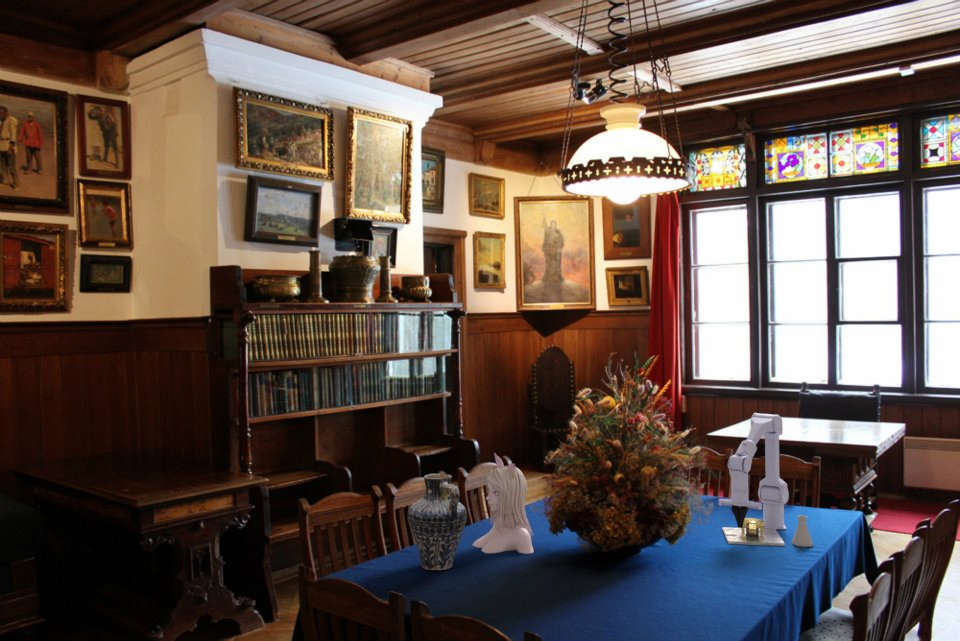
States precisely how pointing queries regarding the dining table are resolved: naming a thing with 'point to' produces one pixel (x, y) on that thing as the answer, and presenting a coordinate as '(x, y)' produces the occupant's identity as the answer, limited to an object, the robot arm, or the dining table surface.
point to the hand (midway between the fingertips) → (740, 527)
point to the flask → (802, 533)
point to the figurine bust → (506, 511)
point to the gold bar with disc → (753, 525)
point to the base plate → (752, 537)
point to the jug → (437, 522)
